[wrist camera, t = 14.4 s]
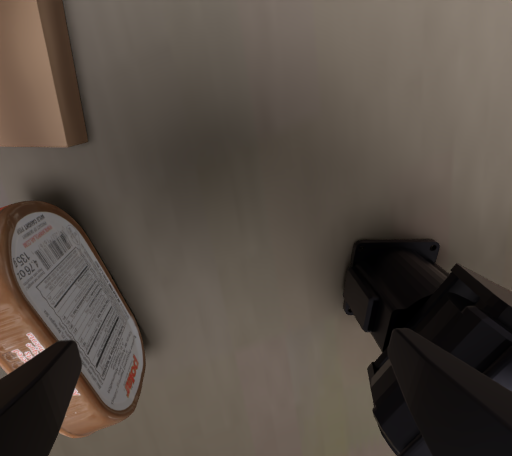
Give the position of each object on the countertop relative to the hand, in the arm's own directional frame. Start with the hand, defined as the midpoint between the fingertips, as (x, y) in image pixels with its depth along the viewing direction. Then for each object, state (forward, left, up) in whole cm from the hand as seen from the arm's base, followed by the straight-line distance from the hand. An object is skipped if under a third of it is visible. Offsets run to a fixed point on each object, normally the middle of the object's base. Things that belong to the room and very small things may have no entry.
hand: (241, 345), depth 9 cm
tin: (+10, +6, -13) cm, 18 cm away
